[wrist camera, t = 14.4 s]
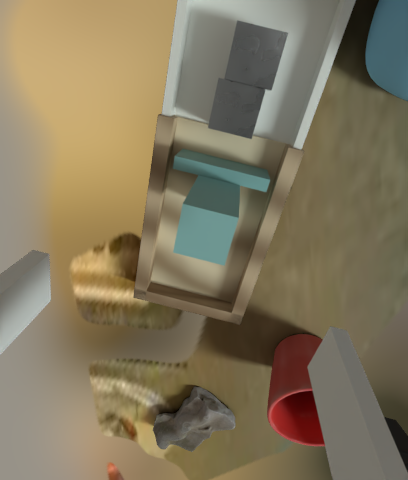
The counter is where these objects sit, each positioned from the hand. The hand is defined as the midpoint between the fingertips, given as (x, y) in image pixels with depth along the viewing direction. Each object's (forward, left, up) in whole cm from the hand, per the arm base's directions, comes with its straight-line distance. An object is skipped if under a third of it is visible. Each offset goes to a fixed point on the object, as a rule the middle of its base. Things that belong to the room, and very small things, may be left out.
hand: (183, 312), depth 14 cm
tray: (-12, 0, -21) cm, 25 cm away
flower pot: (+21, +17, -22) cm, 35 cm away
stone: (+41, +5, -22) cm, 47 cm away
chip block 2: (-8, 0, -21) cm, 23 cm away
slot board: (+5, 0, -21) cm, 22 cm away
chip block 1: (-12, 0, -21) cm, 24 cm away
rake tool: (0, 0, -20) cm, 20 cm away
